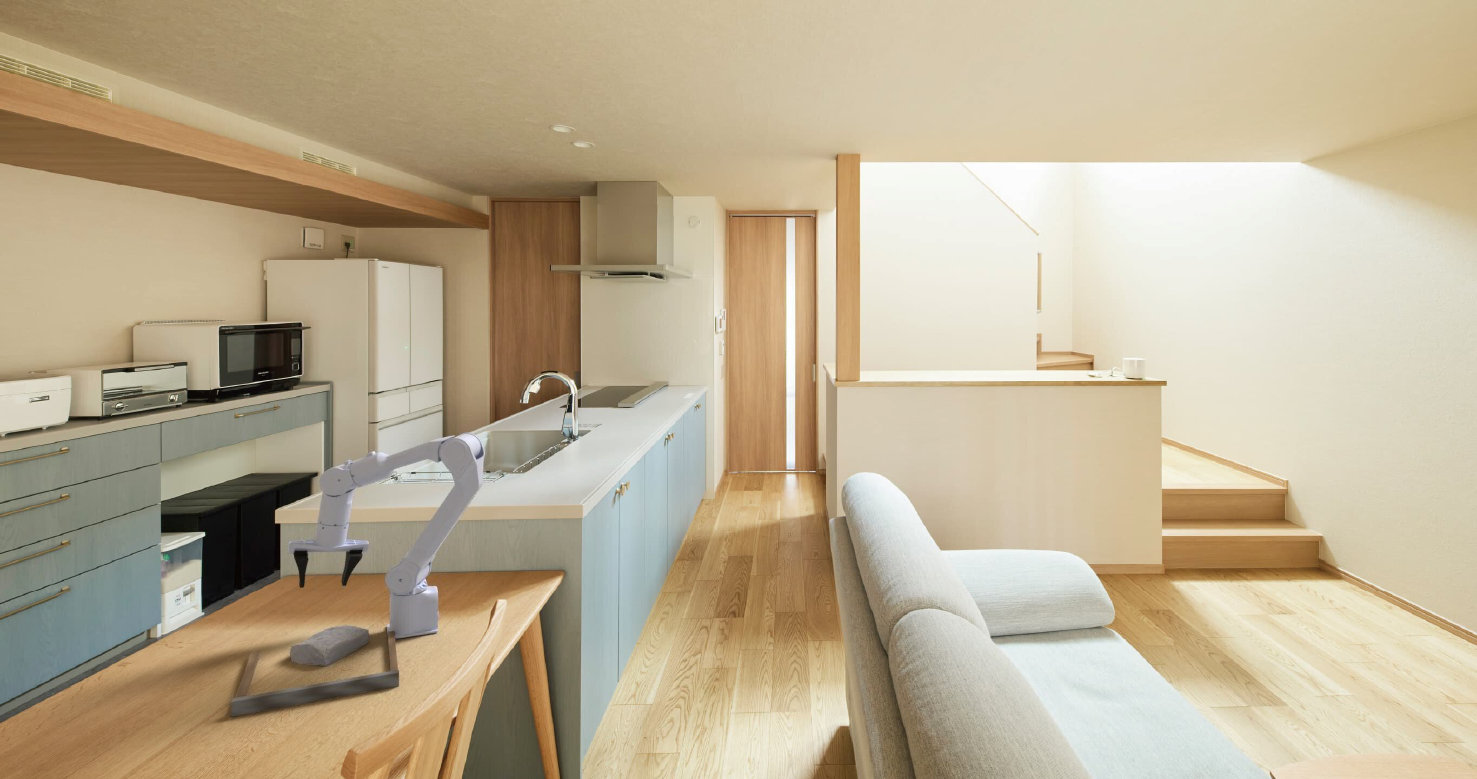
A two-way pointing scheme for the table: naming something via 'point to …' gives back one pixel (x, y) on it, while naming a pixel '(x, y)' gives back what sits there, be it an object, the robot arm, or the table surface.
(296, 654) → the stone block
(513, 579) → the table surface
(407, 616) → the robot arm
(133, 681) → the table surface
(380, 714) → the table surface
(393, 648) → the u-shaped frame
